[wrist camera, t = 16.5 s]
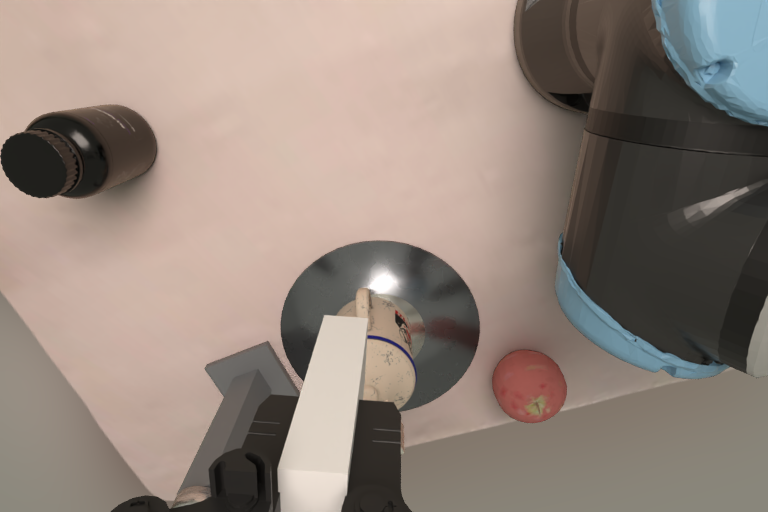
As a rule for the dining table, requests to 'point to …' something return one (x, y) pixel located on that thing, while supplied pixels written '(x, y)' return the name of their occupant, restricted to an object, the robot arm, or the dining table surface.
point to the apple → (529, 386)
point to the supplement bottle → (79, 152)
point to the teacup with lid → (385, 348)
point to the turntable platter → (403, 288)
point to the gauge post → (238, 403)
